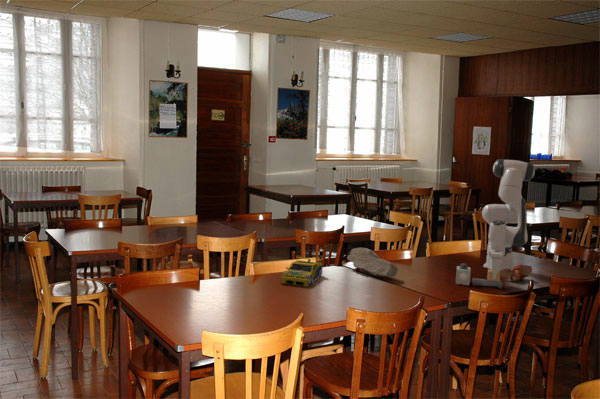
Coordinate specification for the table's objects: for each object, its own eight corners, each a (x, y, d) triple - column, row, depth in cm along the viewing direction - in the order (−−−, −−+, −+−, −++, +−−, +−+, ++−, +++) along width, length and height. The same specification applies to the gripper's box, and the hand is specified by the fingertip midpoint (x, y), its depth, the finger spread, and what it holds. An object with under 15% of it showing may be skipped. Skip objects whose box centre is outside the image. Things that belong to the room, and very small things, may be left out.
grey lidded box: (455, 280, 320) (457, 266, 319) (469, 281, 318) (470, 267, 317) (455, 284, 312) (456, 269, 311) (469, 285, 310) (470, 270, 309)
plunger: (460, 272, 316) (460, 263, 316) (466, 272, 316) (467, 263, 315) (460, 273, 313) (460, 264, 313) (466, 274, 312) (467, 265, 312)
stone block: (393, 286, 313) (404, 261, 317) (382, 279, 307) (393, 253, 311) (349, 274, 340) (359, 251, 344) (338, 267, 334) (349, 244, 338)
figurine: (530, 283, 314) (542, 273, 324) (524, 268, 314) (536, 258, 324) (498, 288, 328) (511, 278, 338) (493, 274, 328) (505, 264, 338)
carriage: (487, 282, 314) (488, 269, 313) (498, 283, 312) (499, 270, 312) (487, 284, 309) (488, 271, 308) (499, 285, 308) (500, 272, 307)
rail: (472, 282, 316) (472, 277, 316) (501, 285, 312) (501, 280, 312) (472, 285, 311) (472, 279, 311) (502, 288, 307) (502, 282, 307)
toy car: (279, 284, 297) (280, 264, 296) (296, 272, 323) (296, 254, 322) (309, 287, 293) (309, 268, 291) (323, 275, 318) (324, 257, 317)
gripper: (488, 247, 319) (486, 272, 321) (490, 254, 300) (488, 280, 301) (500, 248, 318) (498, 273, 319) (503, 255, 298) (501, 282, 300)
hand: (493, 277), depth 310 cm, fingers closed on carriage, 5 cm apart
